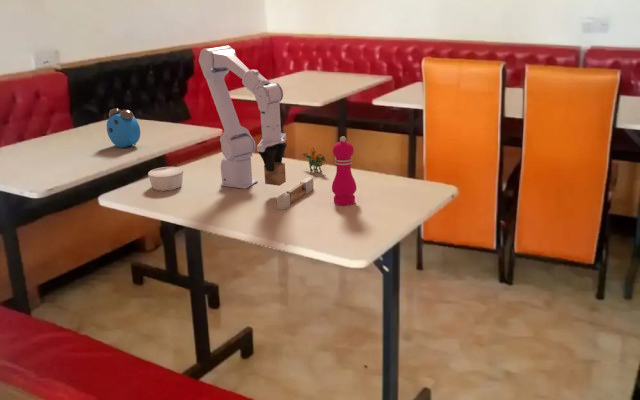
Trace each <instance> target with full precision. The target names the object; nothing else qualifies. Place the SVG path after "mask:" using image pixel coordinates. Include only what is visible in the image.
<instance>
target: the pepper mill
mask: <svg viewBox="0 0 640 400" xmlns="http://www.w3.org/2000/svg"><path fill="white" fill-rule="evenodd" d="M354 150H355V149H354V147H353V145H352V143H351V142H349V141H347V138H346V137H345V136H341V137H340V138H339V141H338V142H336V143H334V144H333V148H332V154H333V156H334V157H335V158H334V164H336V166H335V167H336V173H335V175H334V179H333V180H332V181H333V182H332V183H331V184H332V185H331V192H332V194H334V196H333V203H334V204H335V205H337V206H351V205H353V204H354V203H356V196H355V193H356V191H357V184H356V180H355V178H354V176H353V173H352V168H351V166H352V163H353V158H352V156H353V155H354Z"/></svg>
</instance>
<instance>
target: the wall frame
mask: <svg viewBox="0 0 640 400" xmlns="http://www.w3.org/2000/svg"><path fill="white" fill-rule="evenodd" d="M299 182H300V183H304V187H306V190H304V194H308V193H310V192H311V191H312V190H314V177H310V176H309V177H305V178H304V179H302V180H301V181H299ZM300 183H299V184H300ZM289 191H290V190H287V191H286V193H282V194H280V195H279V196H278V197H276V202H277V203H276V204H277V207H276V208H277V210H280V211H281V210H284V211H285V210H287V208H288V207H290V206H291V203H290V192H289Z"/></svg>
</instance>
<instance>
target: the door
mask: <svg viewBox="0 0 640 400" xmlns="http://www.w3.org/2000/svg"><path fill="white" fill-rule="evenodd" d="M304 190H306V187H304V183H299V184H297V185H296V186H295V187H293V188H292V189H290V190H288V191H289V192H290V204H291V203H293V202H294V201H296V200H298V199H299V198H300V197H302V196H303V195H304V194H305V193H304Z"/></svg>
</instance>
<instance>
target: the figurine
mask: <svg viewBox="0 0 640 400" xmlns="http://www.w3.org/2000/svg"><path fill="white" fill-rule="evenodd" d="M309 153H310V154H309ZM309 153H308V152H303V153H301V155H302V156H304V157H306V158H307V159H308V164H309V171H310V172H313V171H316V173H319V172H323V170H322V168H321V167H322V166H325V164H324V163H325V162H327V161H326V157H325V155H324V154H322V153H321V152H319V153H317V151H316V150H315V147H313V146H311V148H310V152H309ZM312 167H313V169H312ZM318 169H319V170H318Z"/></svg>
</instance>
